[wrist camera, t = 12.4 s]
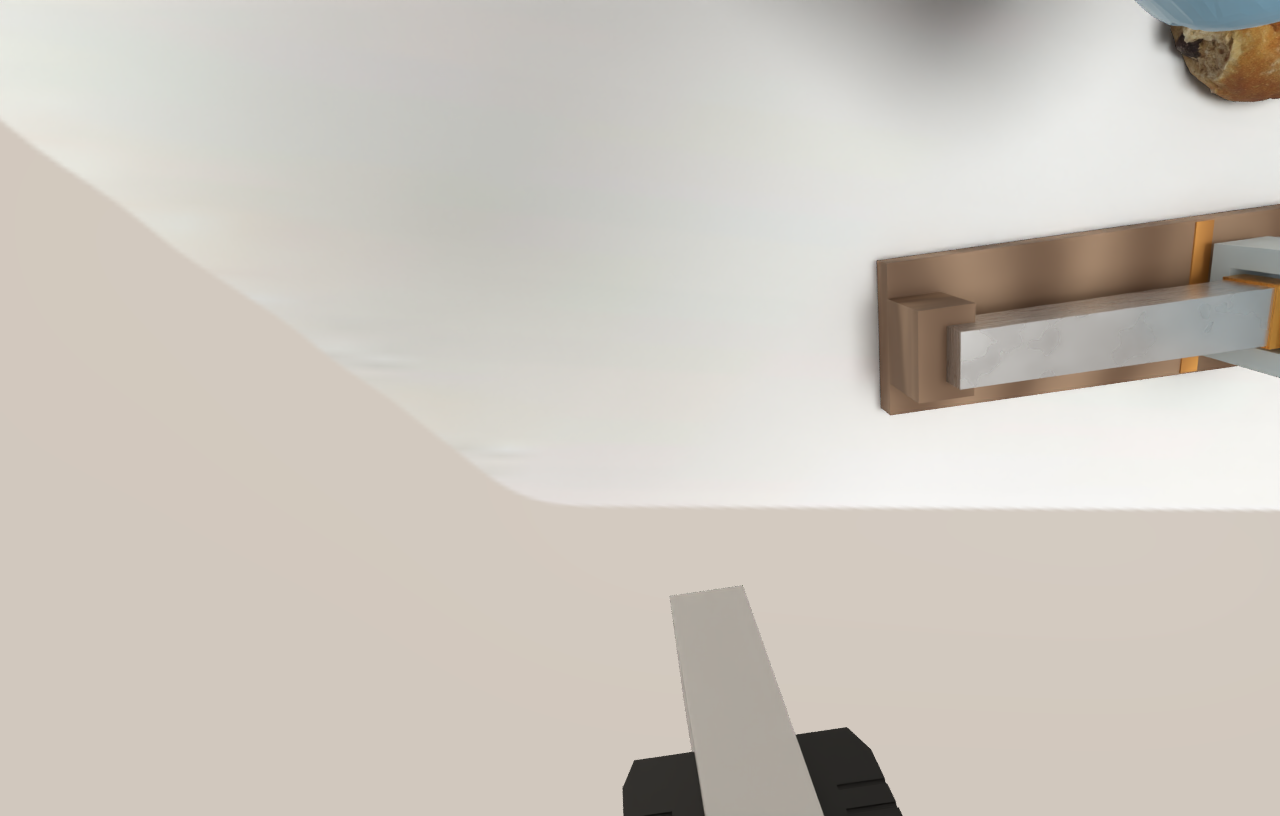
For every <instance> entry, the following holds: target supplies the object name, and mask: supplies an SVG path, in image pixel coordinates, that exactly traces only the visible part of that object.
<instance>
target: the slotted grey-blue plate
mask: <svg viewBox="0 0 1280 816" xmlns="http://www.w3.org/2000/svg"><path fill="white" fill-rule="evenodd" d="M1270 273H1272V274H1279V275H1280V237H1272V236H1265V237H1258V238H1250V239H1243V240H1236V241H1229V242H1222V243H1215V244H1214V250H1213V258H1212V266H1211V275H1210V282H1213V281H1220V280H1223V277H1224V276H1231V275H1239V274H1251V275H1263V274H1270ZM1202 356H1206V357H1209V358H1213V359H1216V360H1220V361H1223V362H1227V363H1230V364H1234V365H1237V366H1241V367H1244V368H1247V369H1251V370H1254V371H1258V372H1261V373H1265V374H1268V375H1272V376H1275V377H1279V378H1280V348H1277V349H1270V350H1269V349H1265V348H1261V347H1257V348H1250V349H1243V350H1236V351H1229V352H1222V353H1215V354H1208V355H1202Z"/></svg>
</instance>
